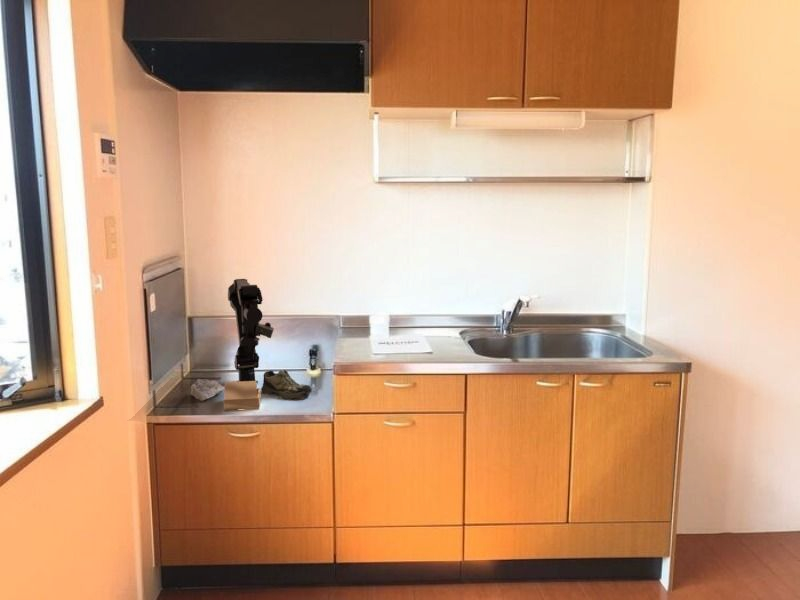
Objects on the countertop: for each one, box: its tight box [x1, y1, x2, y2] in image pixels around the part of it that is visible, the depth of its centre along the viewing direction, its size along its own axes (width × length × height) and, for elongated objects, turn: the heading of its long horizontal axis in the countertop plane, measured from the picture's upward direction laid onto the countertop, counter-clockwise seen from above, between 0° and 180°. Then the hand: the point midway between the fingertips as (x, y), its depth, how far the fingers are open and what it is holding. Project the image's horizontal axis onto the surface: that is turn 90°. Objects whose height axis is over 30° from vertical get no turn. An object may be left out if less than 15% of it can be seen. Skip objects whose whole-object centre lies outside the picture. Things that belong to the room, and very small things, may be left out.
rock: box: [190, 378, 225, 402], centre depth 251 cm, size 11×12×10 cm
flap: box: [224, 380, 258, 400], centre depth 235 cm, size 6×11×1 cm
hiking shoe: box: [260, 369, 312, 401], centre depth 252 cm, size 8×21×9 cm, turn 66°
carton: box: [223, 387, 262, 411], centre depth 242 cm, size 12×12×4 cm
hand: (251, 359), depth 254 cm, fingers open, 3 cm apart
